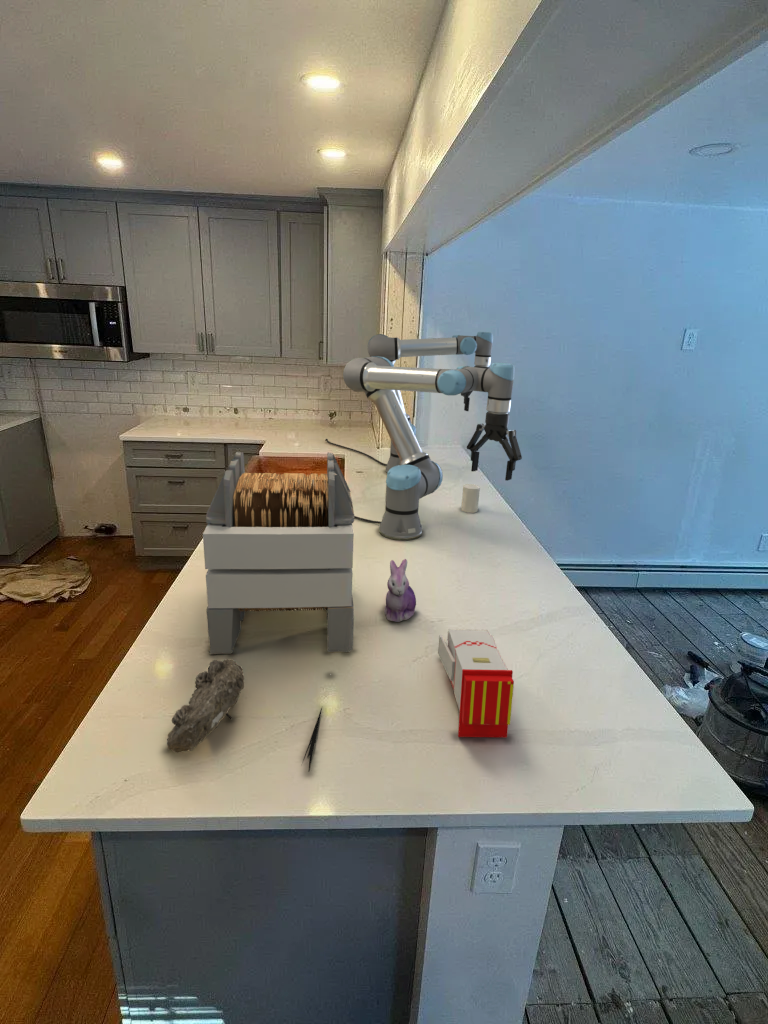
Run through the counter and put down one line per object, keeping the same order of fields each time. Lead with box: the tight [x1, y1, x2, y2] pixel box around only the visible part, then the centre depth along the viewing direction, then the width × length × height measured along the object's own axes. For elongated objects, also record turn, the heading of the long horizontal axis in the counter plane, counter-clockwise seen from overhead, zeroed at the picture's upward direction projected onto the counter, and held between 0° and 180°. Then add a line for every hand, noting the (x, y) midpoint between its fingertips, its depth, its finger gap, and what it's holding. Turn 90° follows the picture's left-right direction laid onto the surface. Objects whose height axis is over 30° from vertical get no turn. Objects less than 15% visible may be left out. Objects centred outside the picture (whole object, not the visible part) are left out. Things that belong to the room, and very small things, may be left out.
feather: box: [301, 673, 332, 771], centre depth 108 cm, size 2×28×2 cm
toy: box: [437, 628, 515, 738], centre depth 117 cm, size 12×13×30 cm
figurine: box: [384, 558, 417, 623], centre depth 145 cm, size 9×10×15 cm
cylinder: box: [460, 483, 481, 514], centre depth 226 cm, size 7×7×10 cm
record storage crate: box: [202, 451, 355, 655], centre depth 137 cm, size 34×33×41 cm
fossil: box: [166, 658, 245, 754], centre depth 106 cm, size 22×10×15 cm
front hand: (490, 475), depth 191 cm, fingers open, 13 cm apart
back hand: (477, 410), depth 278 cm, fingers open, 13 cm apart
